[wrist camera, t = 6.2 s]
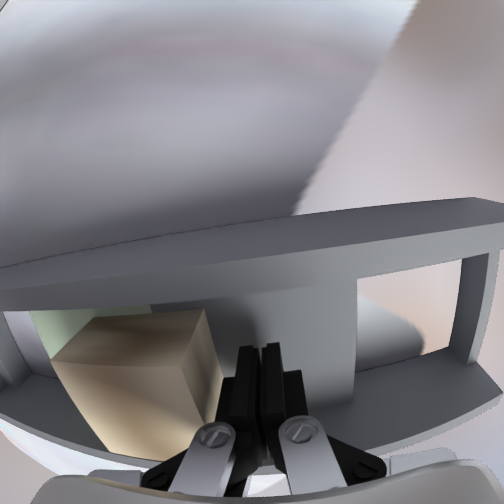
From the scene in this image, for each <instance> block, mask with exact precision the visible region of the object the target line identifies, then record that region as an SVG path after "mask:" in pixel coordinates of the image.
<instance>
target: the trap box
mask: <svg viewBox="0 0 504 504" xmlns="http://www.w3.org/2000/svg"><path fill="white" fill-rule="evenodd" d="M502 249H504V203H499V202H495V201H490V200H486V199H481V198H476V197H470V198H456V199H444V200H432V201H421V202H410V203H400V204H391V205H381V206H371V207H362V208H353V209H345V210H336V211H329V212H320V213H312V214H304V215H296V216H289V217H281V218H274V219H267V220H260V221H253V222H246V223H239V224H232V225H226V226H219V227H213V228H206V229H200V230H194V231H188V232H182V233H176V234H170V235H164V236H158V237H152V238H146V239H141V240H135V241H130V242H124V243H119V244H113V245H108V246H103V247H98V248H92V249H87V250H82V251H77V252H72V253H67V254H62V255H57V256H53V257H48V258H43V259H39V260H34V261H29V262H25V263H20V264H16V265H12V266H7V267H3V268H0V418H1V419H3V420H5V421H7V422H9V423H10V424H12V425H14V426H16V427H18V428H21V429H23V430H25V431H27V432H29V433H31V434H34V435H36V436H38V437H41V438H43V439H45V440H48V441H50V442H53V443H56V444H58V445H61V446H64V447H67V448H69V449H72V450H75V451H78V452H82V453H85V454H88V455H91V456H95V457H99V458H102V459H106V460H110V461H114V462H118V463H123V464H127V465H132V466H137V467H143V468H149V469H151V468H153V467H155V466H157V465H159V464H160V463H162V462H164V461H158V460H151V459H144V458H138V457H132V456H127V455H122V454H117V453H112V452H110V451H109V450H108V449H107V447H106V446H105V445H104V444H103V442H102V441H101V440H100V439H99V437H98V436H97V435H96V433H95V432H94V431H93V429H92V428H91V427H90V425H89V424H88V422H87V421H86V420H85V418H84V417H83V415H82V414H81V412H80V411H79V409H78V408H77V406H76V405H75V403H74V402H73V400H72V399H71V397H70V396H69V394H68V392H67V391H66V389H65V387H64V386H63V384H62V382H61V381H60V379H56V378H50V377H45V376H40V375H36V374H32V373H31V372H30V370H29V368H28V366H27V364H26V362H25V361H24V359H23V357H22V355H21V353H20V351H19V349H18V347H17V345H16V342H15V340H14V338H13V336H12V334H11V331H10V329H9V327H8V325H7V322H6V320H5V317H4V315H3V312H2V311H29V313H30V315H31V318H32V320H33V323H34V325H35V327H36V330H37V332H38V334H39V336H40V339H41V341H42V343H43V345H44V347H45V349H46V351H47V353H48V355H49V357H50V359H52V358H53V357H54V356H55V355H56V354H57V352H58V351H59V350H60V349H61V348H62V347H63V346H64V345H65V344H66V343H67V342H68V341H69V340H70V339H71V338H72V337H73V336H74V335H76V334H77V333H78V332H79V331H80V330H81V329H82V328H83V327H84V326H85V325H86V324H87V323H88V322H89V321H90V320H91V319H92V318H93V317H106V316H122V315H136V314H149V313H161V312H172V311H182V310H192V309H202V308H204V310H205V314H206V318H207V321H208V325H209V329H210V333H211V336H212V340H213V343H214V347H215V350H216V354H217V357H218V361H219V364H220V368H221V371H222V374H223V378H224V377H235V372H236V365H237V359H238V352H239V347H240V346H248V345H253V347H254V348H258V349H259V354H260V360H261V356H262V347H266V344H267V343H274V342H280V348H281V356H282V363H283V370H284V372H285V371H293V370H300V369H301V371H302V377H303V383H304V389H305V396H306V402H307V409H308V415H309V416H311V417H314V418H316V419H317V420H319V421H320V423H321V424H322V426H323V429H324V431H325V433H326V434H327V435H329V436H331V437H333V438H335V439H337V440H340V441H342V442H344V443H346V444H349V445H351V446H353V447H356V448H358V449H360V450H363V451H365V452H368V453H370V454H372V455H375V456H380V455H383V454H387V453H390V452H393V451H396V450H399V449H402V448H405V447H408V446H411V445H414V444H416V443H419V442H422V441H424V440H427V439H429V438H432V437H434V436H437V435H439V434H441V433H444V432H446V431H448V430H450V429H452V428H454V427H456V426H459V425H461V424H463V423H465V422H467V421H469V420H471V419H473V418H475V417H476V416H478V415H480V414H482V413H484V412H485V411H487V410H489V409H491V408H492V407H494V406H496V405H497V404H498V403H499V401H500V399H501V397H502V395H503V391H502V390H501V389H500V388H499V387H498V385H497V384H496V383H495V382H494V381H493V380H492V378H491V377H490V376H489V375H488V374H487V373H486V372H485V371H484V369H483V368H482V367H481V366H480V365H479V364H478V363H477V359H478V355H479V352H480V349H481V346H482V342H483V338H484V335H485V331H486V327H487V323H488V319H489V315H490V310H491V306H492V301H493V295H494V290H495V284H496V277H497V270H498V262H499V252H500V250H502ZM458 259H462V266H461V277H460V285H459V293H458V300H457V306H456V312H455V318H454V323H453V328H452V333H451V337H450V342H449V346H448V347H445V348H443V349H440V350H437V351H434V352H431V353H427V354H424V355H421V356H418V357H415V358H411V359H408V360H404V361H401V362H397V363H393V364H389V365H386V366H382V367H378V368H373V369H369V370H365V371H360V372H356V373H355V359H356V338H357V279H359V278H364V277H371V276H376V275H382V274H388V273H393V272H398V271H403V270H409V269H414V268H419V267H424V266H430V265H434V264H439V263H444V262H449V261H454V260H458ZM270 474H282V472H281V471H279V470H278V469H276V468H275V464H274V460H273V459H271V458H270V454H269V450H268V446H267V460H262V467H258V469H257V470H256V471H255V472H254V473H252V474H251V475H270Z"/></svg>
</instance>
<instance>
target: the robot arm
mask: <svg viewBox="0 0 504 504" xmlns="http://www.w3.org/2000/svg"><path fill="white" fill-rule="evenodd" d="M6 1H7V0H0V10H1V9H2V7H3V6H4V4H5V3H6ZM267 446H268V450H269V454H270V458H271V459H273V460H274V464H275V468H276V469H278V470H279V471H281V472H282V473H284V474H286V478H287V482H288V486H289V490H290V494H291V495H287V496H274V497H247V493H248V490H249V486H250V482H251V474H252V473H254V472H255V471H256V470H257V469H258V467H262V460H267ZM30 504H504V488H503V486H502V485H501V483H500V481H499V480H498V478H497V477H496V475H495V474H494V473H493V471H492V470H491V469H490V468H489V467H488V466H487V465H485V464H484V463H482V462H481V461H478V460H471V459H459V460H457V457H456V455H455V453H454V452H453V451H452V450H451V449H448V448H437V449H432V450H427V451H421V452H415V453H409V454H402V455H394V456H391V457H390V458H387V459H381V458H379V457H377V456H375V455H372V454H370V453H368V452H365V451H363V450H360V449H358V448H356V447H353V446H351V445H349V444H346V443H344V442H342V441H340V440H337V439H335V438H333V437H331V436H329V435H327V434H326V433H325V431H324V429H323V426H322V424H321V423H320V421H319V420H317V419H316V418H314V417H311V416H309V415H308V409H307V402H306V396H305V389H304V383H303V377H302V371H301V369H300V370H293V371H285V372H284V370H283V363H282V356H281V348H280V342H274V343H267V344H266V347H262V356H261V360H260V354H259V349H258V348H254V347H253V345H248V346H240V347H239V352H238V359H237V365H236V372H235V377H224V378H223V381H222V386H221V391H220V396H219V401H218V406H217V411H216V416H215V421H214V422H211V423H207V424H205V425H203V426H202V427H200V428H199V429H198V430H197V432H196V433H195V435H194V437H193V439H192V441H191V443H190V446H189V448H187V449H186V450H184V451H182V452H180V453H179V454H177V455H175V456H173V457H171V458H170V459H168V460H166V461H164V462H162V463H160V464H159V465H157V466H155V467H153V468H151V469H149V470H148V471H146V472H141V471H140V470H102V469H99V470H94V471H92V472H90V473H89V474H88V475H87V476H85V475H61V476H56V477H53V478H51V479H49V480H48V481H46V483H44V485H43V486H42V487H41V488H40V489H39V491H38V492H37V494H36V495H35V497H34V498H33V500H32V502H31V503H30Z"/></svg>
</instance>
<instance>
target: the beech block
mask: <svg viewBox="0 0 504 504" xmlns="http://www.w3.org/2000/svg"><path fill="white" fill-rule="evenodd" d="M50 363H51V364H52V366H53V368H54V370H55V372H56V374H57V375H58V377H59V379H60V381H61V382H62V384H63V386H64V387H65V389H66V391H67V392H68V394H69V396H70V397H71V399H72V400H73V402H74V403H75V405H76V406H77V408H78V409H79V411H80V412H81V414H82V415H83V417H84V418H85V420H86V421H87V422H88V424H89V425H90V427H91V428H92V429H93V431H94V432H95V433H96V435H97V436H98V437H99V439H100V440H101V441H102V442H103V444H104V445H105V446H106V447H107V449H108V450H109V451H110V452H112V453H117V454H122V455H127V456H132V457H138V458H144V459H151V460H158V461H166V460H168V459H170V458H171V457H173V456H175V455H177V454H179V453H180V452H182V451H184V450H186V449H187V448H189V446H190V443H191V441H192V439H193V437H194V435H195V433H196V432H197V430H198V429H199V428H200V427H202V426H203V425H205V424H207V423H211V422H214V421H215V416H216V411H217V406H218V401H219V396H220V391H221V386H222V381H223V374H222V371H221V368H220V364H219V361H218V357H217V354H216V350H215V347H214V343H213V340H212V336H211V333H210V329H209V325H208V321H207V318H206V314H205V310H204V308H202V309H192V310H182V311H172V312H161V313H149V314H136V315H122V316H106V317H93V318H92V319H91V320H90V321H89V322H88V323H87V324H86V325H85V326H84V327H83V328H82V329H81V330H80V331H79V332H78V333H77V334H76V335H74V336H73V337H72V338H71V339H70V340H69V341H68V342H67V343H66V344H65V345H64V346H63V347H62V348H61V349H60V350H59V351H58V352H57V354H56V355H55V356H54V357H53V358H52V359H51V360H50Z"/></svg>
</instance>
